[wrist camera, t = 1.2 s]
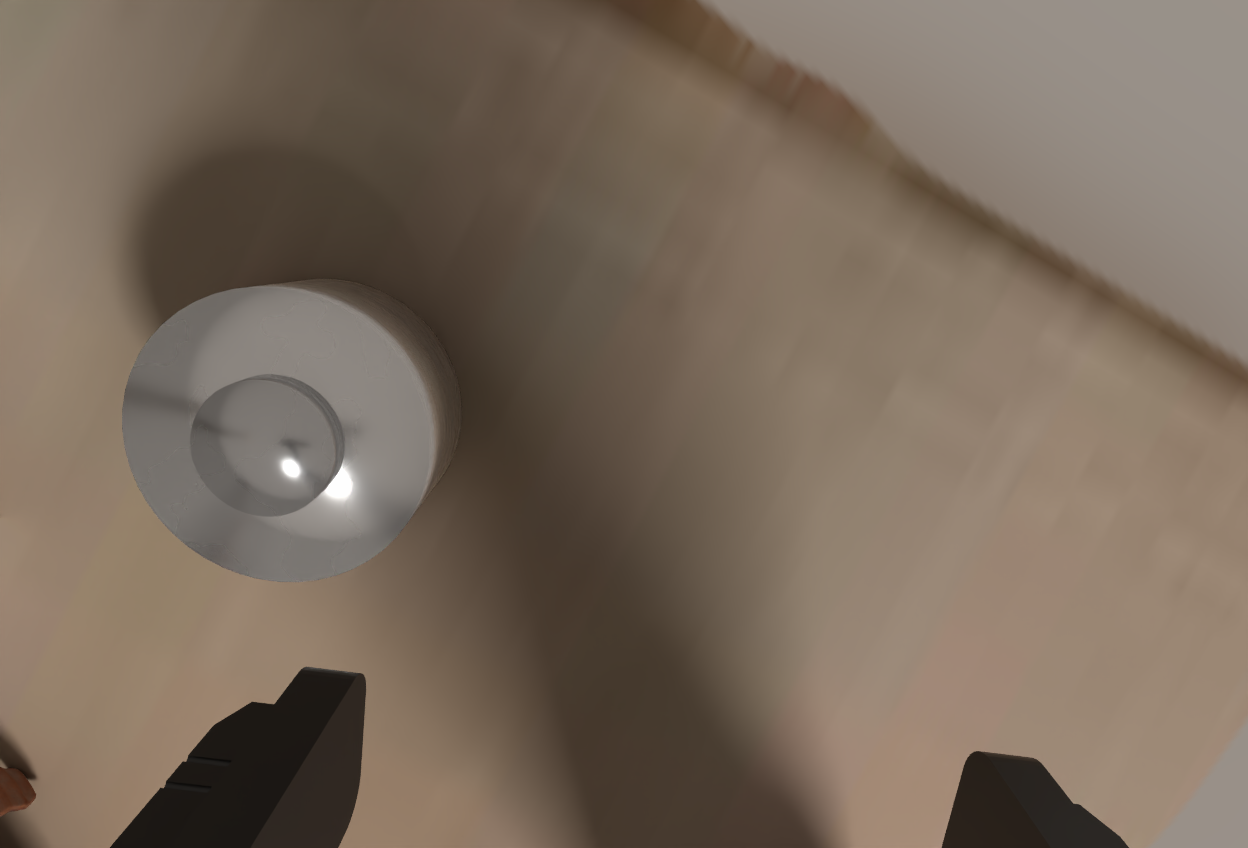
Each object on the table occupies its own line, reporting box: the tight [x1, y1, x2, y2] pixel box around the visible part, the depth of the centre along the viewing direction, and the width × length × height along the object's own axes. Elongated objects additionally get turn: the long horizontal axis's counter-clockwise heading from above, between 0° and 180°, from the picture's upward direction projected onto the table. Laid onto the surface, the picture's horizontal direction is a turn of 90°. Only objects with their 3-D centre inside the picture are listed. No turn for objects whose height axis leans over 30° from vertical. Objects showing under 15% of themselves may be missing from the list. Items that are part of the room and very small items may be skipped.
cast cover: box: [122, 279, 462, 582], centre depth 25 cm, size 9×9×6 cm
